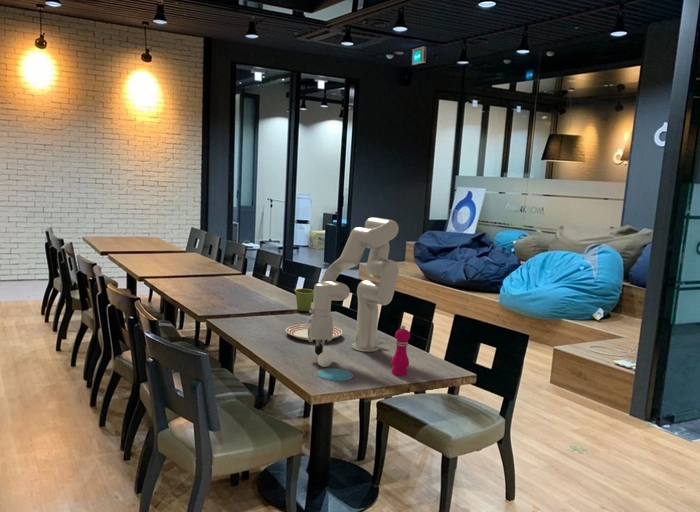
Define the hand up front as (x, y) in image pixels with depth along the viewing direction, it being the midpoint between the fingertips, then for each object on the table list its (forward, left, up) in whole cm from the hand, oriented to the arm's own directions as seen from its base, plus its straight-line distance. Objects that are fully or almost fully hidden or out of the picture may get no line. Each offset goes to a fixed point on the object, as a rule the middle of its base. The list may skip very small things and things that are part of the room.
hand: (318, 354), depth 258 cm
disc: (0, +22, -2) cm, 22 cm away
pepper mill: (-27, +24, -2) cm, 36 cm away
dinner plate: (-8, -33, -2) cm, 34 cm away
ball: (+1, +12, +2) cm, 12 cm away
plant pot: (-18, -86, -2) cm, 88 cm away
